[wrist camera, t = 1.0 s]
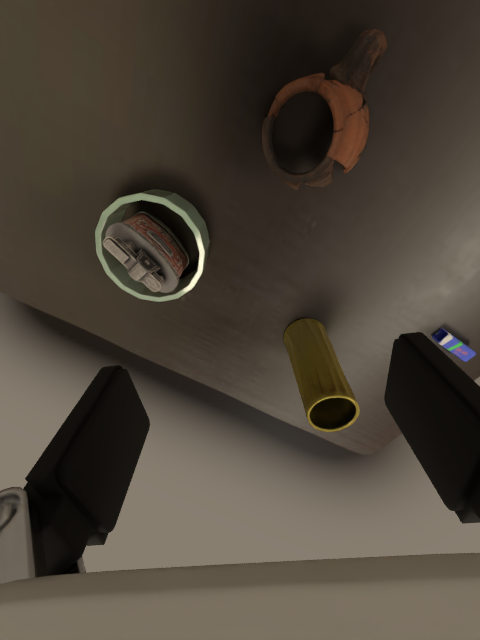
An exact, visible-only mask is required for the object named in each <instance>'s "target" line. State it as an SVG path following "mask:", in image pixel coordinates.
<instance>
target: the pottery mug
mask: <svg viewBox="0 0 480 640" xmlns="http://www.w3.org/2000/svg"><path fill="white" fill-rule="evenodd" d="M386 48H387V42H386V36H385V33H384V32H382V31H380V30H378V29H370V30H365V31H364V32H363V33H361V34H360V36H359V37H358V38H357V39H356V41H355V42H354V43H353V45H352V46H351V47H350V49H349V51H348V52H347V54H346V56H345V57H344V59H343V60H342V61H341V62H340V63H339V64H337V65H335V66H333V67H331V69H330V76H331V78H332V80H330V81H328V80H325V74H324V73H319V74H313V75H310V76H306V77H303V78H299V79H296V80H294V81H292V82H290V83H289V84H287V85H285V86H284V87H283V88H282V89H281V90H280V91H279V92H278V94H277V95H276V96H275V100H274V102H273V104H272V106H271V108H270V111H269V114H268V117H267V118H265V119H264V121H263V125H262V148H263V153H264V156H265V158H266V160H267V161H268V165H269V167H270V169H271V170H272V171H273V172H274V173H275V174H276V175H277V176H278V177H279V178H280V179H281V180H282V181H284V182H285V183H286V184H288V185H289V186H290V187H292V188H294V189H296V190H298V188H299V186H300V184H301V183H302V182H304V183H306V184H307V185H308V186H311V187H316V186H319V187H322V188H323V187H325V186H327V185H329V184H331V183H332V182H333V179H332V177H331V176H332V169H333V165H334V161H337V162H338V163H340V164H342V165H343V166H344V167H345V168H344V169H343V172H344V173H347V172H348V171H349V170H351V169H352V168H353V167H354V165H355V164H356V162H357V161H358V160H359V159H360V157H361V155H362V154H363V152H364V150H365V148H366V143H367V139H368V133H369V108H368V103H367V99H366V97H365V94H364V89H365V85H366V82H367V80H368V78H369V77H370V75H371V73H372V72H373V70H374V69H375V67H376V66H377V64H378V63H379V61H380V59H381V57H382V56H383V54H384V52H385V50H386ZM305 91H310V92H314V93H317V94H319V95H321V96H322V97H323V98H324V99H325V100H326V102H327V103H328V105H329V107H330V109H331V112H332V115H333V121H334V132H333V137H332V142H331V145H330V148H329V150H328V152H327V154H326V156H325V158H324V159H323V160H322V161H321V162H320V163H319V164H318V165H317V166H316V167H315V168H313V169H312V170H310V171H308V172H305V173H299V174H297V173H292V172H290V171H288V170H286V169H285V168H284V167H283V166H282V165H281V164H280V163H279V161H278V160H277V158H276V155H275V152H274V148H273V142H272V135H273V126H274V122H275V117H276V116H277V115H278V113H279V110H280V107H281V106H282V104H284V103H285V102H286V101H287V100H288V99H290V98H291V97H292V96H294V95H295V94H298V93H300V92H305Z"/></svg>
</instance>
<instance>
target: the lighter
mask: <svg viewBox="0 0 480 640" xmlns="http://www.w3.org/2000/svg"><path fill="white" fill-rule="evenodd" d="M105 236H106V238H105V239H104V241H103V246H104V247H105V248H106V249H107V250H108V251H109V252H110V253H111V254H112V255H113V256H114V257H116V258H117V259H118V260H119V261H120V262H121V263H122V264H123V265H124V266H125V267H126V269H127V271H128V274H129V276H130V277H131V278H132V279H133V280H135V281H139V282H143V283H144V284H145V285H146V286H147V287H148V288H149V289H150V290H151V291H153V292H157V291H160V292H162V293H168V292H171V291H173V290H174V289H175V288H176V286H177V285H178V282H179V277H180V276H181V274H182V272H183V270H184V269H185V268H186V267H187V266H188V264H189V262H190V256H189V254H188V252H187V251H186V249H185V248H184V246H183V245H182V243H181V242H180V241H179V239H178V238H177V237H176V236H175V235H174V233H173V232H172V231H171V230H170V229H169V228H168V227H167V226H165V225H164V224H163V223H162V222H161V221H160V220H159V219H157V218H156V217H155V216H153V215H152V214H151V213H149V212H147V211H141V212H138V213H136V214H135V215H134V216H133V217H132V218H130V219H128V220H126V221H123V222H117V223H114V224H112V225H111V226H110V227H108V229H107V231H106V235H105Z"/></svg>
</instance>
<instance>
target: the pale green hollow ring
mask: <svg viewBox="0 0 480 640" xmlns="http://www.w3.org/2000/svg"><path fill="white" fill-rule="evenodd" d="M139 200H145V201H150V202H155V203H160V204H163V205H165V206H166V207H168V208H170V209H171V210H173V211H174V212H176V213H177V214H179V215H180V216H182V218H183V219H184V220H185V222H186V223H187V225H188V226H189V227H190V229H191V230H192V231H193V233H194V235H195V238H196V242H197V246H198V249H199V261H198V266H197V268H196V270H195V271H193V272H192V273H190V274H189V275H187V276H186V277H184V278H182V279H179V282H178V285H177V286H176V288H175V289H174V290H173V291H171V292H168V293H162V292H160V291H157V292H153V291H151V290H150V289H149V288H148V287H147V286H146V285H145V284H144V283H143V282H139V281H135V280H133V279H132V278H131V277H130V276H129V274H128V271H127V269H126V267H125V266H124V265H123V264H122V263H121V262H120V261H119V260H118V259H117V258H116V257H114V256H113V255H112V254H111V253H110V252H109V251H108V250H107V249H106V248H105V247H104V246H103V241H104V239H105V238H106V236H105V235H106V231H107V229H108V227H110V226H111V225H112V224H114V223H117V222H121V221H122V218H123V216H124V214H125V211H126V209H127V208H129V207H130V206H131V205H132V204H133V203H135V202H136V201H139ZM95 238H96V253H97V255H98V257H99V259H100V262H101V264H102V266H103V268H104V270H105V272H106V274H107V275H108V276H109V277H110V278H111V279H112V280H113V281H114V282H115V283H116V284H117V285H118V286H119V287H120V288H121V289H123V290H124V291H126V292H128V293H130V294H132V295H134V296H136V297H137V298H140V299H145V300H150V301H156V302H162V301H167V300H172V299H177V298H179V297H181V296H182V295H184V294H185V293H187V292H188V291H190V290H191V289H193V287H194V286H195V284H196V283H197V281H198V279H199V278H200V276H201V275H202V273H203V270H204V267H205V265H206V262H207V259H208V253H209V245H210V239H209V235H208V231H207V227H206V223H205V221H204V220H203V218H202V217H201V216H200V214H199V213H198V211H197V210H196V208H195V207H194V206H193V205H192V204H191V203H189V202H188V201H186V200H185V199H183V198H182V197H180V196H179V195H178V194H176V193H173V192H168V191H163V190H159V189H152V190H148V191H143V192H139V193H135V194H131V195H128V196H124V197H120V198H118V199H117V200H116V201H115V202H113V203H112V204H111V205H110V206H109V207H108V208H106V209H105V210H104V211H103V212H102V215H101V217H100V220H99V223H98V225H97V228H96V230H95Z"/></svg>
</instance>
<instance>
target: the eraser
mask: <svg viewBox="0 0 480 640" xmlns="http://www.w3.org/2000/svg"><path fill="white" fill-rule="evenodd" d="M432 338H433V339H434V340H435V341H436V342H437V343H439V344H440V345H441V346H443V347H444V348H445V349H447V350H448V351H450V352H451V353H453V354H454V355H456V356H457V357H458V358H460V359H461V360H463V361H464V362H466V361H468V360H469V359H471V358H472V357H473V356H475V355H476V352H474V351H473V350H472V349H471V348H469V347H468V346H467V345H465V344H464V343H463V342H461V341H460V340H458V339H457V338H456V337H454V336H453V335H451V334H450V333H449V332H447V331H446V330H445V329H443V328H441V329H440V330H439V331H438V332H436V333H435V334H434V335H432Z"/></svg>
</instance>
